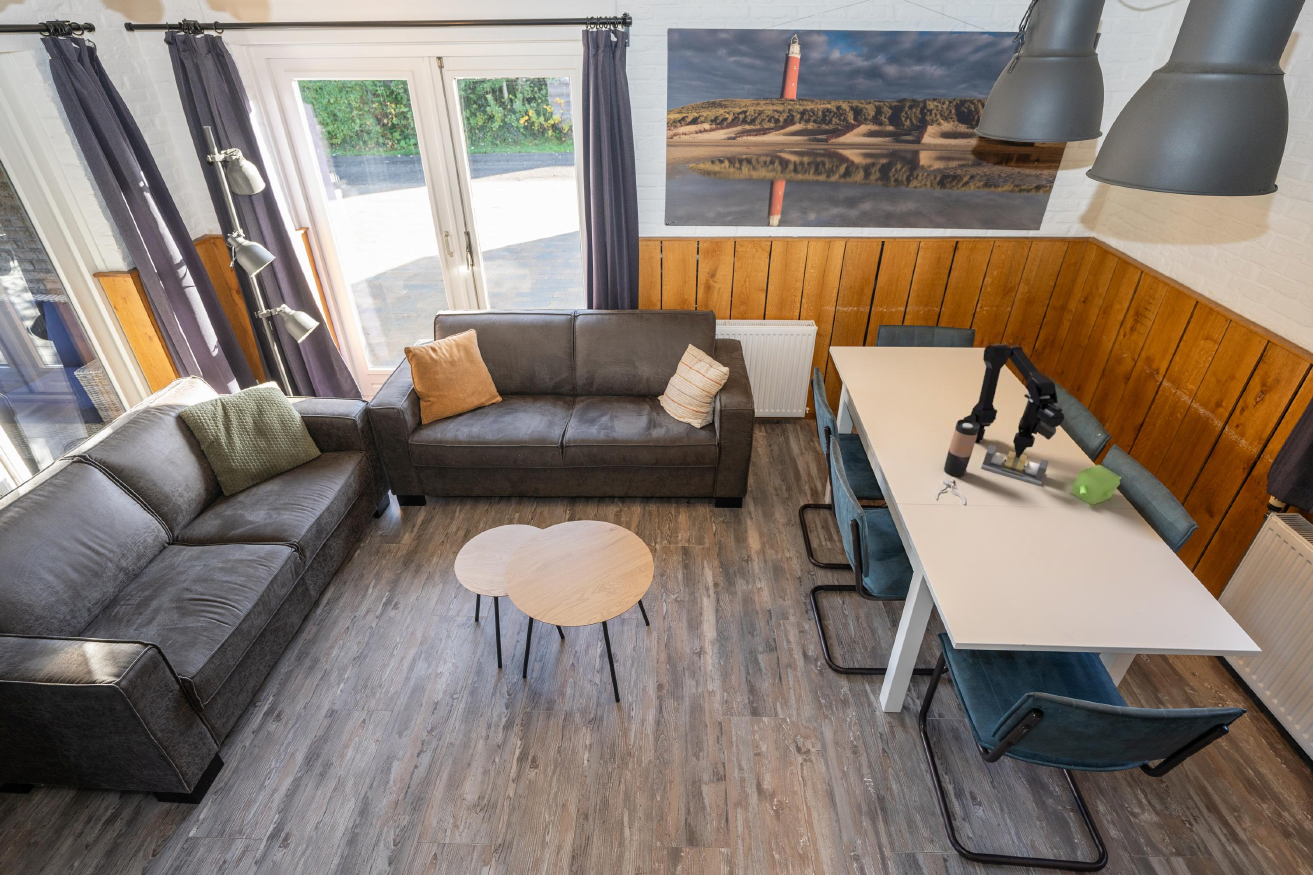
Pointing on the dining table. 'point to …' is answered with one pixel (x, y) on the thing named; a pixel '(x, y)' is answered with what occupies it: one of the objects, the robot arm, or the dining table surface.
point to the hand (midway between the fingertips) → (1019, 451)
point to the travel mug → (961, 447)
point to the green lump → (1095, 484)
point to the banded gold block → (1015, 462)
